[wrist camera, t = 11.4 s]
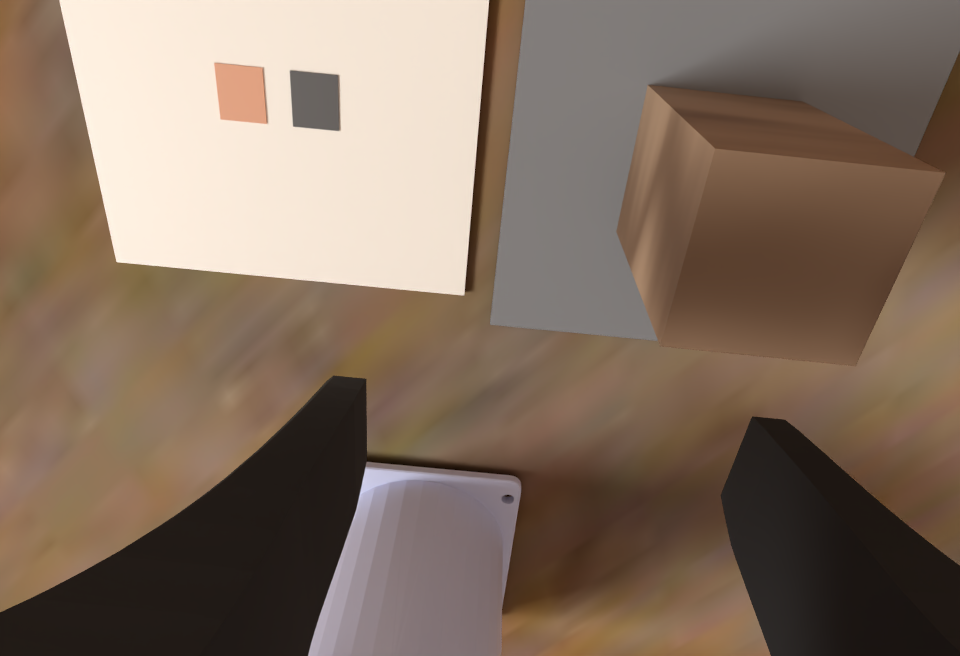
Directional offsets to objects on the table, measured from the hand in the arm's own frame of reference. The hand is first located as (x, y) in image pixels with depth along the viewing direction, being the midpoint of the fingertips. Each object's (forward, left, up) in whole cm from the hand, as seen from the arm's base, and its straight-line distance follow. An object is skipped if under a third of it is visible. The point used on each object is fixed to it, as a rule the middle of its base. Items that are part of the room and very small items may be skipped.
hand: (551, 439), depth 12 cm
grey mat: (+3, -5, -10) cm, 12 cm away
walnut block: (+3, -5, -10) cm, 12 cm away
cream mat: (+4, +8, -10) cm, 14 cm away
